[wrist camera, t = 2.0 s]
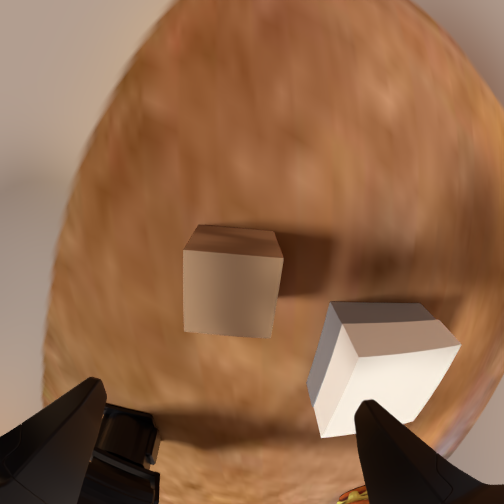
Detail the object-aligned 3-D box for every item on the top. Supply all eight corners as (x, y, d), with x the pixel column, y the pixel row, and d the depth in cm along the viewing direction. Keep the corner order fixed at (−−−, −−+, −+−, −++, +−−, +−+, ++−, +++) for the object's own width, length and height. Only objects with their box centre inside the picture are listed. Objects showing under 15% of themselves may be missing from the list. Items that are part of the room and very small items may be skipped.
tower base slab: (305, 379, 24) (312, 406, 21) (328, 298, 21) (341, 324, 18) (385, 374, 24) (398, 397, 21) (418, 300, 21) (437, 321, 18)
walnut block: (196, 291, 20) (184, 331, 15) (198, 224, 18) (183, 249, 14) (265, 296, 20) (270, 338, 15) (273, 230, 18) (283, 258, 14)
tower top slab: (313, 406, 21) (321, 437, 17) (342, 323, 17) (358, 357, 14) (399, 395, 21) (413, 421, 18) (438, 319, 18) (461, 344, 15)
